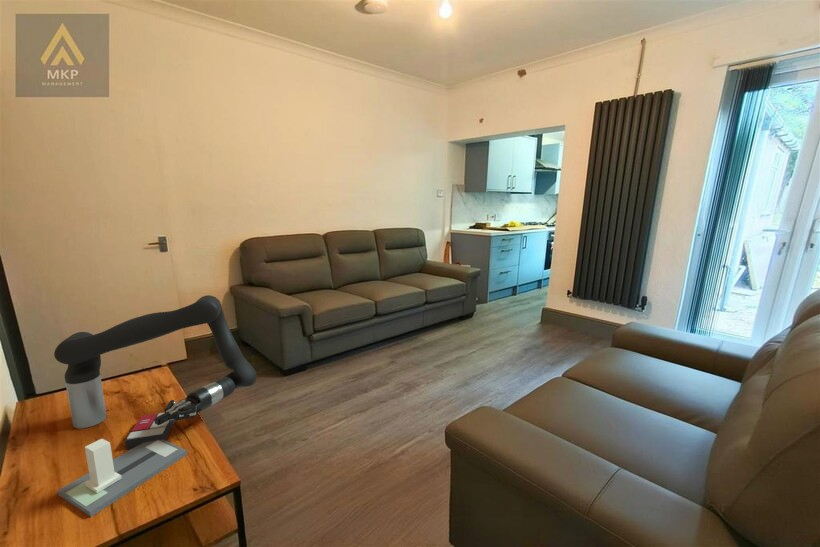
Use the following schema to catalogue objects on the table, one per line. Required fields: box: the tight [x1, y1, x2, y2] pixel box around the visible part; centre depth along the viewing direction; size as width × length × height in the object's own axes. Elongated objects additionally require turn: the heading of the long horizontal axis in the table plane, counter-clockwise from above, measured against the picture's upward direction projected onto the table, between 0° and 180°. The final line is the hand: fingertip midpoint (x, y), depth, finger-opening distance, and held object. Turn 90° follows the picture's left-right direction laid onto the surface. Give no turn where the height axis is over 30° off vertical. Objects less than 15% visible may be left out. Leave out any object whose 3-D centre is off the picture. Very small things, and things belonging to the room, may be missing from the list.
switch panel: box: [56, 439, 188, 518], centre depth 108 cm, size 16×26×2 cm, turn 156°
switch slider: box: [84, 438, 122, 493], centre depth 101 cm, size 6×6×12 cm
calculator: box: [124, 412, 176, 451], centre depth 126 cm, size 11×4×15 cm
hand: (156, 422), depth 115 cm, fingers closed
